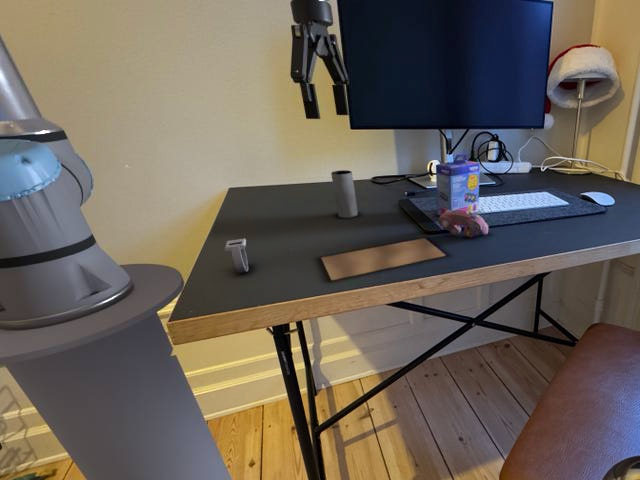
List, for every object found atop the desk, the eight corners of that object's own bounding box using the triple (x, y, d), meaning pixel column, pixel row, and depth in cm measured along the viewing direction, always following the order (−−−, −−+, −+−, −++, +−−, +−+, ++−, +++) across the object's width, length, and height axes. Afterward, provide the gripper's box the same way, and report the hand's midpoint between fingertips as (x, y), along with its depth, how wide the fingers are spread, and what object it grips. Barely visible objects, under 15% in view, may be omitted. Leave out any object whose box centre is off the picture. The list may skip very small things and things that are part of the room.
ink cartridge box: (451, 220, 86) (449, 156, 79) (436, 215, 89) (433, 153, 83) (480, 211, 92) (480, 152, 86) (464, 207, 96) (464, 149, 89)
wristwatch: (235, 265, 63) (226, 238, 61) (253, 262, 64) (245, 235, 62) (232, 279, 58) (223, 250, 56) (252, 276, 60) (244, 247, 57)
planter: (334, 217, 87) (327, 173, 83) (344, 211, 91) (337, 169, 87) (352, 218, 87) (345, 174, 82) (361, 212, 91) (355, 170, 86)
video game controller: (441, 240, 79) (433, 216, 73) (448, 225, 81) (441, 201, 76) (484, 246, 76) (479, 221, 70) (491, 230, 78) (486, 205, 73)
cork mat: (331, 281, 58) (331, 279, 58) (321, 258, 66) (321, 257, 66) (445, 256, 67) (445, 255, 67) (424, 238, 75) (424, 238, 75)
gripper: (292, -16, 61) (316, 121, 70) (354, 12, 83) (366, 114, 93) (250, -15, 62) (280, 120, 71) (323, 13, 84) (338, 113, 93)
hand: (329, 117), depth 82 cm, fingers open, 13 cm apart
